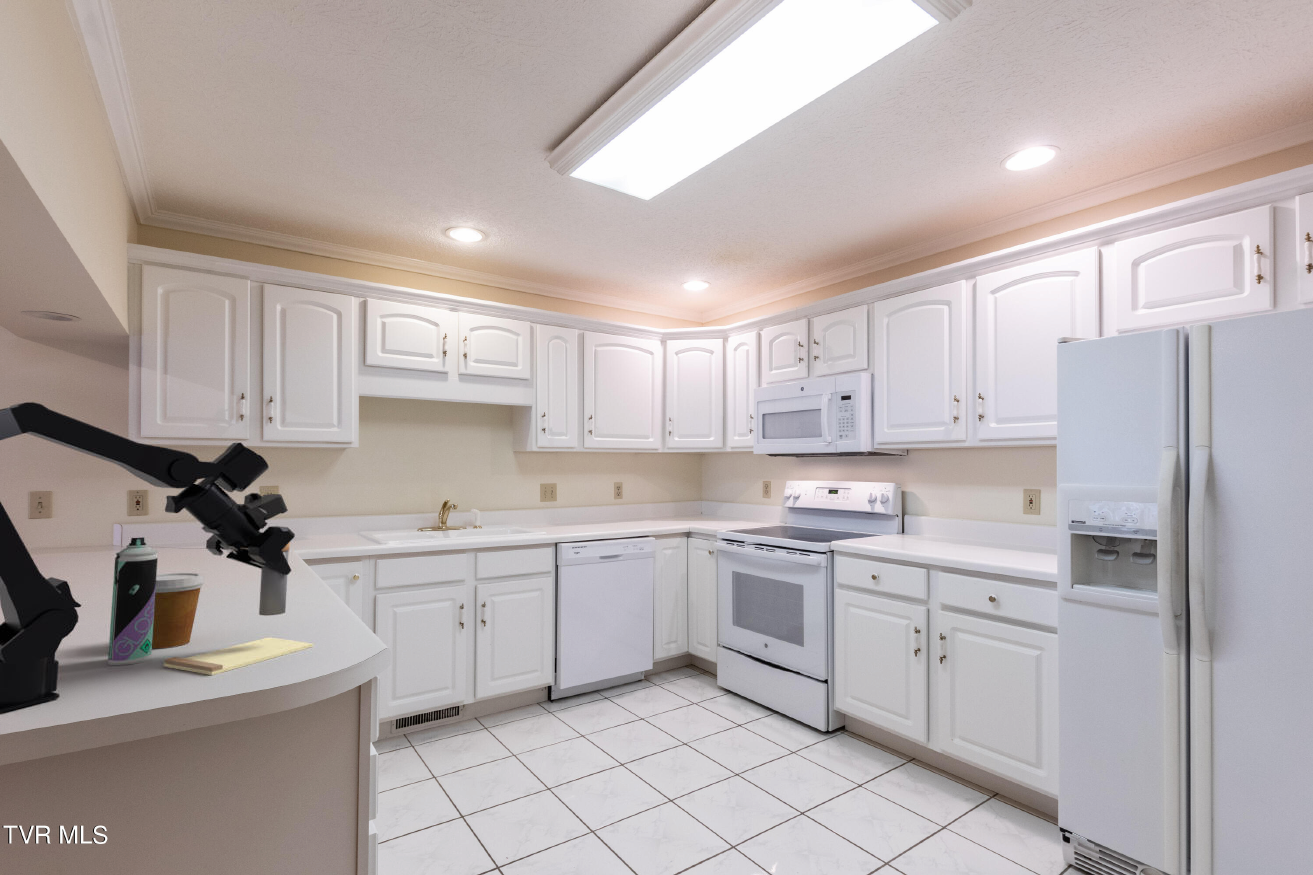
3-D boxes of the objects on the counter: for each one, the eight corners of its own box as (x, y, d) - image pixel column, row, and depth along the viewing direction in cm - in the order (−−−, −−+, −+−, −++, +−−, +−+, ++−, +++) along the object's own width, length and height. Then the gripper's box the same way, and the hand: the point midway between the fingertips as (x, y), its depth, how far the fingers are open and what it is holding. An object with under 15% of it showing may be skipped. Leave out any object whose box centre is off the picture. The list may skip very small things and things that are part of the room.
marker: (275, 615, 110) (279, 534, 111) (252, 615, 111) (257, 534, 111) (291, 610, 114) (295, 532, 115) (269, 610, 115) (273, 532, 116)
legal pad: (212, 675, 97) (212, 667, 97) (164, 666, 101) (164, 659, 101) (312, 646, 114) (313, 640, 114) (268, 639, 118) (268, 633, 118)
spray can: (126, 666, 101) (134, 539, 102) (98, 663, 102) (107, 538, 103) (159, 656, 106) (167, 536, 107) (133, 654, 107) (140, 535, 108)
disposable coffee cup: (184, 649, 111) (189, 580, 111) (121, 652, 109) (126, 581, 109) (210, 636, 120) (214, 572, 121) (152, 638, 118) (156, 572, 119)
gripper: (286, 478, 106) (344, 540, 114) (229, 477, 116) (287, 534, 124) (231, 529, 99) (298, 591, 107) (176, 523, 108) (241, 580, 117)
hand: (282, 571), depth 114 cm, fingers closed on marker, 4 cm apart
